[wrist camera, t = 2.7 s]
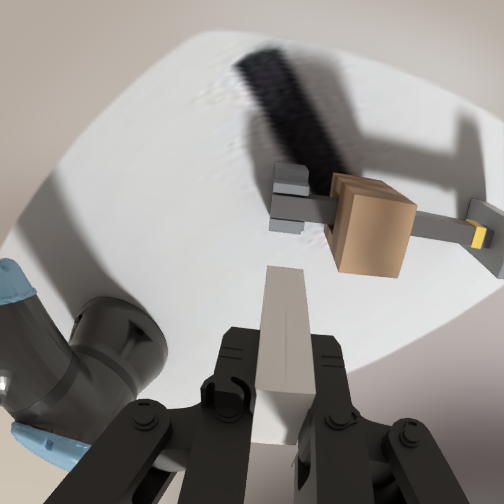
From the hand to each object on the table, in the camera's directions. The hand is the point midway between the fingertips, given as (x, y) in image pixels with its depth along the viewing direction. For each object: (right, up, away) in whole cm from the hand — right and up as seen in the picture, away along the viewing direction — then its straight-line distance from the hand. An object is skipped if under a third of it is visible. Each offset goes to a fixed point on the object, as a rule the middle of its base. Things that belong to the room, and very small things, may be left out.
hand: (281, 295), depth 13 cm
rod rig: (+14, +7, +18) cm, 23 cm away
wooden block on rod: (+9, +6, +16) cm, 19 cm away
